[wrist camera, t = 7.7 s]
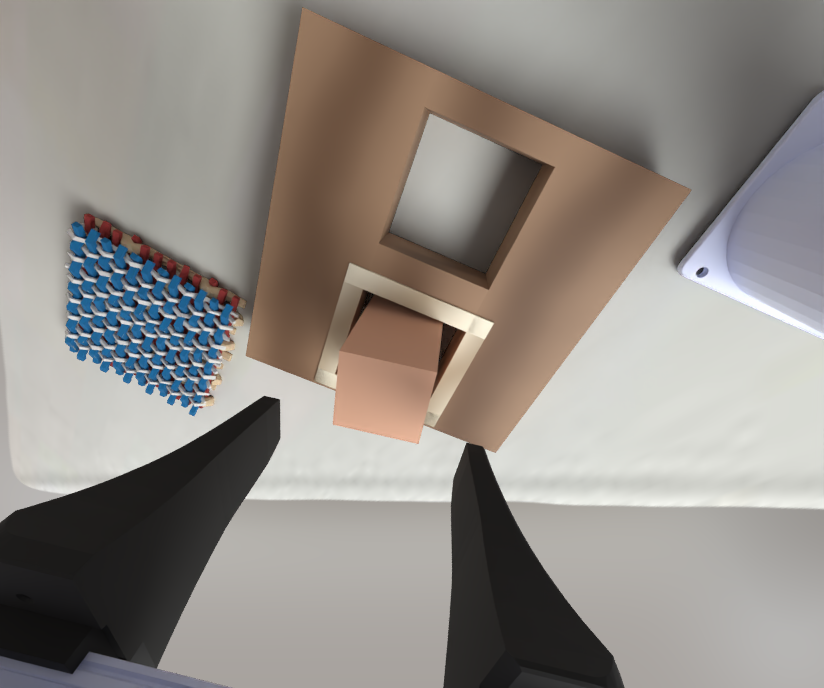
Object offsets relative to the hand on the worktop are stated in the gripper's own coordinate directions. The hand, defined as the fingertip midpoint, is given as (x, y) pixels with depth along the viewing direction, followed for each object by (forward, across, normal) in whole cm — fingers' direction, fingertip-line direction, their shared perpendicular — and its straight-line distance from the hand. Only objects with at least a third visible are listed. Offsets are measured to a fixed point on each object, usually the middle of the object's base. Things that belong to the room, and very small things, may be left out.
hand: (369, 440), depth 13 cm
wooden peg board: (+9, -1, -4) cm, 10 cm away
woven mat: (+10, +16, +3) cm, 19 cm away
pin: (+9, 0, 0) cm, 9 cm away
